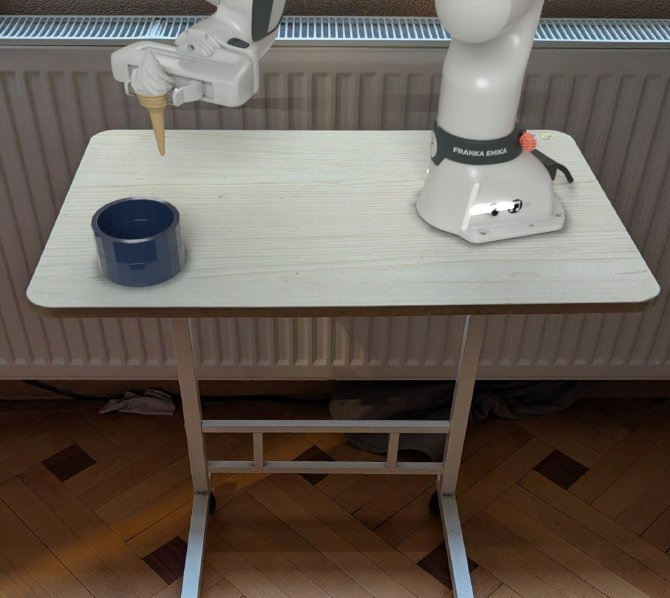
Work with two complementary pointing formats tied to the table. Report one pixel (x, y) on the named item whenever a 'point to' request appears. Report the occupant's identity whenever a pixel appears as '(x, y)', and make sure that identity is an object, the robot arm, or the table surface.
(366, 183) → the table surface
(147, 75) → the ice cream cone
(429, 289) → the table surface
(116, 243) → the pot
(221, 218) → the table surface
